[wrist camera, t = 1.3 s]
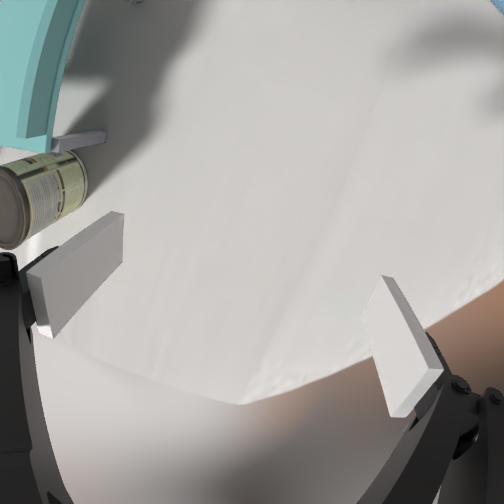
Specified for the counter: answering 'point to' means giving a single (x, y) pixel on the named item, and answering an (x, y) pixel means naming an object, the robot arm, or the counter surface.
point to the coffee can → (38, 194)
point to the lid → (33, 68)
